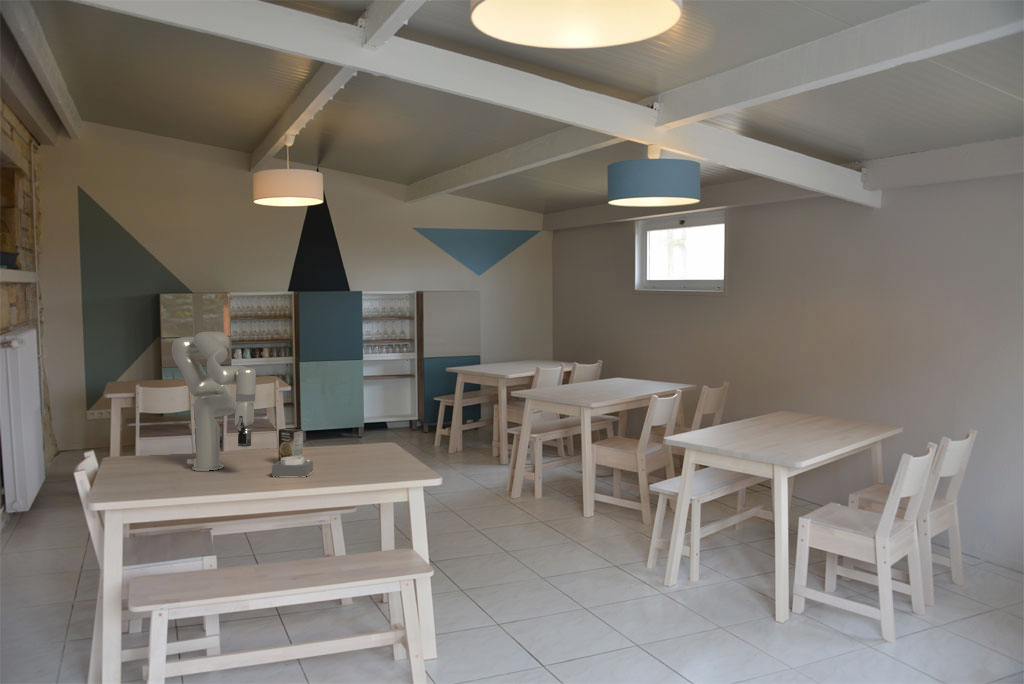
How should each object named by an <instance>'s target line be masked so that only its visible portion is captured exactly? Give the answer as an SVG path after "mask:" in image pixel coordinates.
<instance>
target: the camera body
mask: <svg viewBox="0 0 1024 684" xmlns="http://www.w3.org/2000/svg"><path fill="white" fill-rule="evenodd" d="M312 471H313V472H314V461H313V460H310V459H306V458H305V457H304V456H303V457H301V456H290V457H283V458H281V461H279V460H278V461H277V462H275V463H273V464H272V465H271V477H272V476H307V475H308V474H309V473H310V472H312Z"/></svg>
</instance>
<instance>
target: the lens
mask: <svg viewBox="0 0 1024 684" xmlns="http://www.w3.org/2000/svg"><path fill="white" fill-rule="evenodd" d="M242 426H244V425H242ZM243 430H244V428H243ZM251 430H253V428H252V426H250V425H249V426H247V427H246V444H239V443H238V442H237V446H238V447H244V448H245V447H251V446H252V431H251Z"/></svg>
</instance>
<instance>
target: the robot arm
mask: <svg viewBox="0 0 1024 684" xmlns="http://www.w3.org/2000/svg"><path fill="white" fill-rule="evenodd" d="M229 346H230V340H229V336H228V335H227V334H226V333H225V332H223V331H202V332H201V331H200V332H198V333H196V334H195V336H182V337H178V338H176V339H175V340H174V341H173V342H172V344H171V355H172V358H173V361H174V363H175V364H176V366H177V367H178V369H179V370H180V372H181V373H182V376H183V378H184V381H185V383H186V386H187V388H188V390H189V392H190V394H191V395H192V396H193V397H197V398H195V400H194V402H193V406H192V408H193V414H194V420H195V458H194V459H190V458H188V459H187V460H186V463H187V465H193V466H192V467H191V470H192V471H194V470H195V472H210V471H209V470H214V471H218V469H219V470H223V469H224V468H223V467H225V465H224V464H223V463H221V451H220V450H221V447H220V446H221V442H220V441H221V436H220V435H221V433H220V432H221V429H220V424H219V422H218V421H217V419H216V418H218V417H227V416H230V415H232V414H233V413H235V414H234V427H236V428H237V444H238V443H239V444H246V427H247V426H249V425H250V426H251V427H252V425H253V424H254V421H255V404H254V403H256V386H257V385H256V383H257V371H256V369H255V368H252V367H247V366H244V365H231V366H230V365H229V366H225V365H224V366H221V364H222V363H224V362H225V361H226V359H227V357H228V350H227V349H228V348H229ZM196 356H197V357H199V356H200V357H201V356H203V357H204V358H205V359H206V360H207V361H206V371H207V373H206V372H205V370H204V368H203V366H202V365H201V363H200V362H199V361H198V360H196V359H195V358H193V357H196ZM230 385H235V398H234V395H233V393H232V391H231V389H230V387H229V386H230ZM242 425H244V426H242ZM243 428H244V430H243ZM252 430H253V429H252ZM252 430H251V432H252Z"/></svg>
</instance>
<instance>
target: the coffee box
mask: <svg viewBox="0 0 1024 684" xmlns="http://www.w3.org/2000/svg"><path fill="white" fill-rule="evenodd" d="M290 456H301V457H304V429H302V428H301V429H300V428H291V427H288V428H280V429H278V461H281V458H283V457H290Z"/></svg>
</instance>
